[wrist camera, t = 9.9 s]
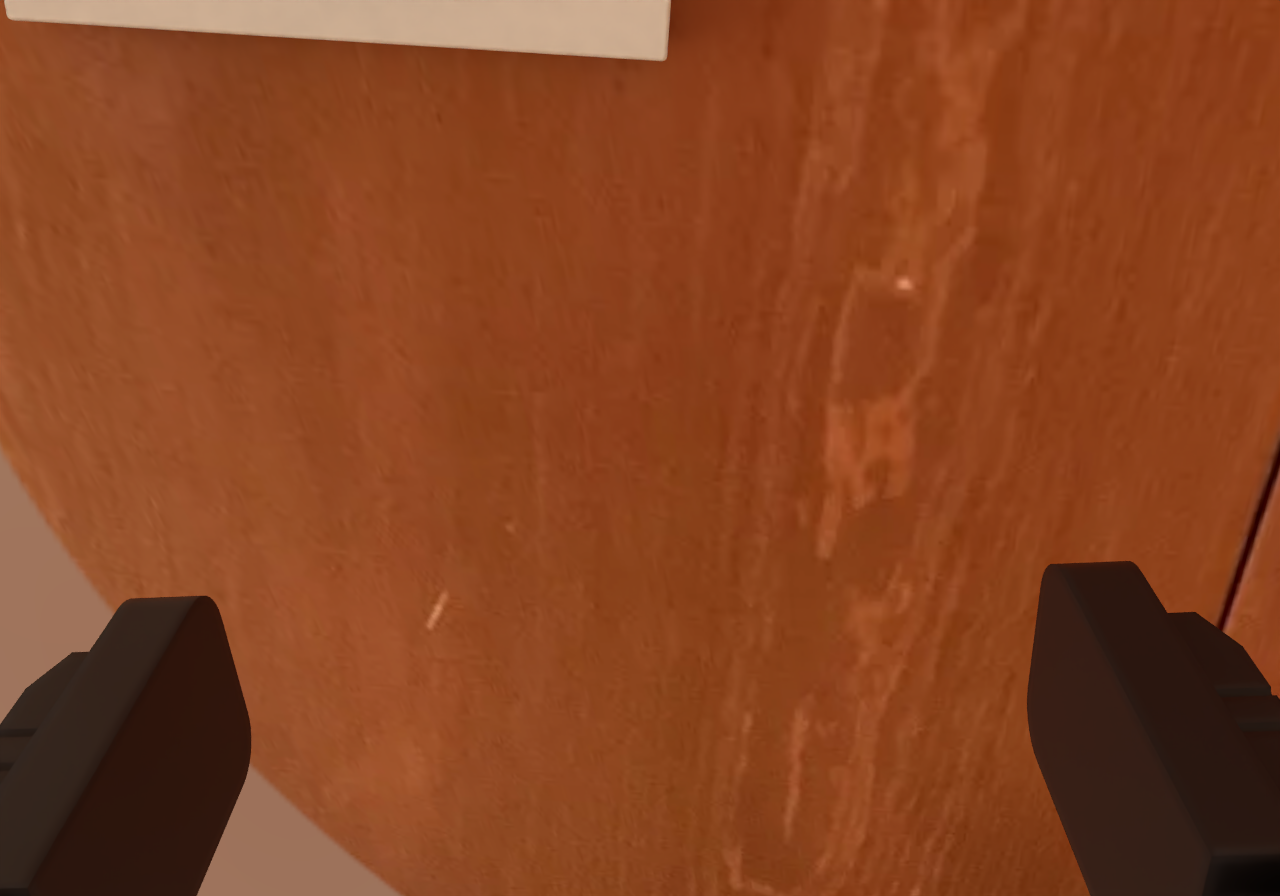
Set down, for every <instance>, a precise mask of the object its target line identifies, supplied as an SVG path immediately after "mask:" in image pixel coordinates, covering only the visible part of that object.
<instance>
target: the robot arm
mask: <svg viewBox="0 0 1280 896" xmlns="http://www.w3.org/2000/svg"><path fill="white" fill-rule="evenodd" d="M1027 712H1028V723H1029V731H1030V737H1031V742H1032V746H1033V750H1034V753H1035V756H1036V759H1037V762H1038V764H1039V767H1040V769H1041V772H1042V774H1043V777H1044V779H1045V782H1046V784H1047V787H1048V789H1049V792H1050V794H1051V797H1052V799H1053V802H1054V804H1055V807H1056V810H1057V812H1058V815H1059V817H1060V820H1061V822H1062V825H1063V827H1064V830H1065V832H1066V835H1067V837H1068V840H1069V842H1070V845H1071V847H1072V850H1073V852H1074V855H1075V857H1076V860H1077V862H1078V865H1079V867H1080V870H1081V872H1082V875H1083V877H1084V880H1085V882H1086V885H1087V888H1088V890H1089V893H1090V895H1091V896H1280V699H1279V698H1278V697H1277V695H1273V696H1272V694H1271V686H1270V685H1269V684H1268V682H1267V681H1266V679H1265V678H1264V676H1263V675H1262V674H1261V672H1260V671H1259V669H1258V668H1257V666H1256V665H1255V664H1254V662H1253V661H1252V659H1251V658H1250V656H1249V655H1248V653H1247V652H1246V651H1245V649H1244V648H1243V646H1241V645H1240V644H1239V643H1237V642H1236V641H1235V640H1233V639H1232V638H1230V637H1229V636H1228V635H1226V634H1225V633H1223V632H1222V631H1221V630H1219V629H1218V628H1217V627H1215V626H1214V625H1212V624H1211V623H1210V622H1208V621H1207V620H1206V619H1204V618H1203V617H1201V616H1200V615H1199V614H1197V613H1196V612H1183V613H1167V612H1166V610H1165V608H1164V607H1163V605H1162V604H1161V602H1160V601H1159V599H1158V597H1157V596H1156V594H1155V593H1154V591H1153V589H1152V588H1151V586H1150V585H1149V583H1148V582H1147V580H1146V578H1145V577H1144V575H1143V574H1142V572H1141V571H1140V569H1139V568H1138V566H1137V565H1135V564H1134V563H1133V562H1131V561H1118V562H1093V563H1068V564H1050V565H1049V566H1048V567H1047V568H1046V569H1045V572H1044V574H1043V578H1042V582H1041V588H1040V596H1039V604H1038V612H1037V620H1036V628H1035V636H1034V644H1033V652H1032V659H1031V667H1030V675H1029V683H1028V693H1027ZM250 754H251V727H250V720H249V715H248V711H247V708H246V704H245V700H244V697H243V693H242V690H241V686H240V682H239V679H238V675H237V672H236V668H235V665H234V661H233V657H232V654H231V650H230V647H229V643H228V639H227V636H226V632H225V629H224V625H223V621H222V618H221V615H220V612H219V609H218V607H217V605H216V604H215V602H214V601H213V600H212V599H211V598H210V597H208V596H185V597H160V598H135V599H129V600H126V601H125V602H124V603H123V604H122V605H121V606H120V607H119V608H118V610H117V611H116V613H115V614H114V616H113V617H112V619H111V620H110V622H109V623H108V625H107V626H106V628H105V629H104V631H103V632H102V634H101V635H100V637H99V638H98V640H97V641H96V643H95V644H94V645H93V647H92V648H91V650H90V652H72V653H71V654H70V655H68V656H67V657H66V658H65V659H63V660H62V661H61V662H60V663H58V664H57V665H56V666H54V667H53V668H52V669H50V670H49V671H48V672H47V673H46V674H44V675H43V676H41V677H40V678H39V679H38V680H36V681H35V682H34V683H33V684H31V685H30V686H29V687H27V688H26V689H25V691H24V692H23V693H22V695H21V696H20V698H19V699H18V700H17V702H16V703H15V705H14V706H13V707H12V709H11V710H10V712H9V713H8V714H7V716H6V717H5V719H4V720H3V721H2V723H1V724H0V896H196V895H197V893H198V891H199V888H200V886H201V884H202V882H203V879H204V877H205V875H206V872H207V870H208V867H209V865H210V863H211V860H212V858H213V855H214V853H215V851H216V848H217V846H218V844H219V841H220V839H221V837H222V834H223V832H224V829H225V827H226V825H227V822H228V820H229V817H230V815H231V813H232V811H233V808H234V806H235V804H236V801H237V799H238V796H239V794H240V792H241V789H242V787H243V784H244V782H245V779H246V776H247V772H248V767H249V762H250Z"/></svg>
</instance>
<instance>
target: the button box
mask: <svg viewBox="0 0 1280 896" xmlns="http://www.w3.org/2000/svg"><path fill="white" fill-rule="evenodd" d="M4 2H5V8H6V13H7V17H8V18H9V19H11V20H16V21H32V22H48V23H64V24H79V25H95V26H111V27H127V28H143V29H159V30H175V31H191V32H207V33H222V34H238V35H254V36H270V37H286V38H302V39H318V40H334V41H349V42H365V43H381V44H397V45H413V46H429V47H445V48H461V49H477V50H492V51H508V52H524V53H540V54H556V55H572V56H588V57H604V58H619V59H635V60H651V61H664V60H666V58H667V54H668V39H669V24H670V9H671V0H4Z"/></svg>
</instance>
